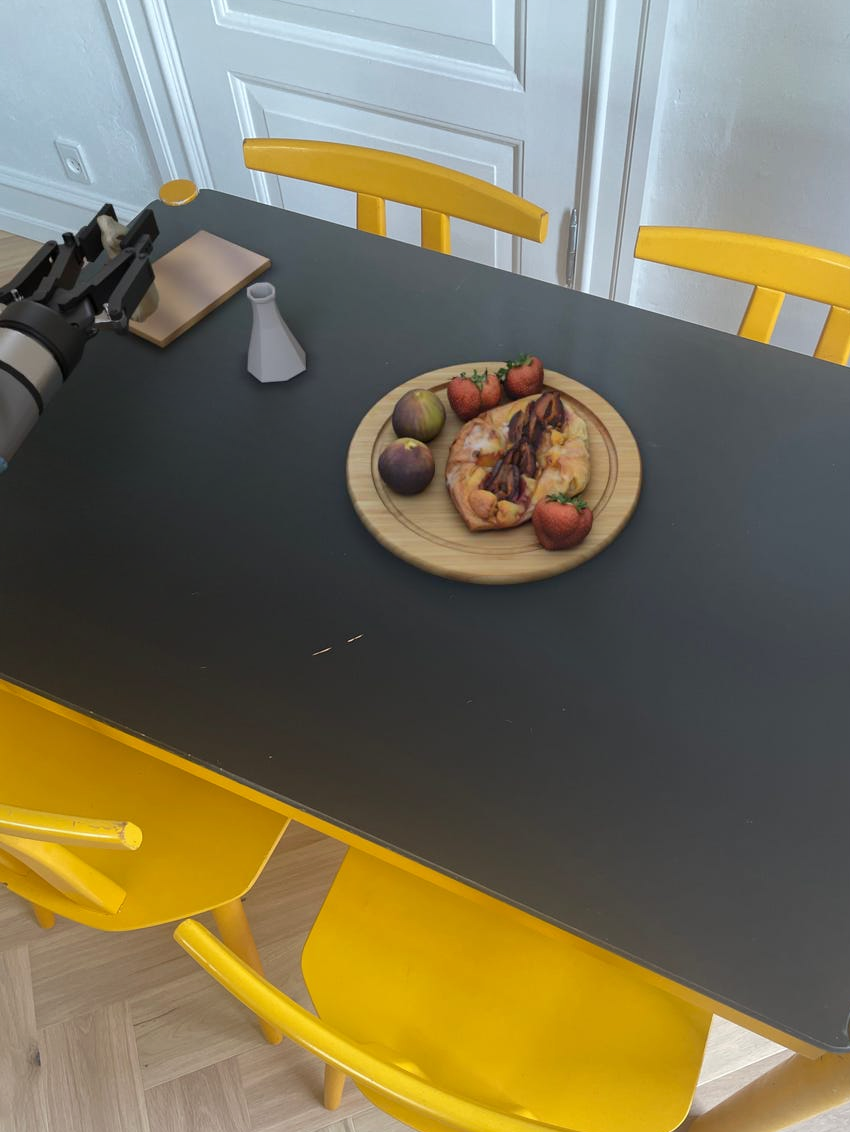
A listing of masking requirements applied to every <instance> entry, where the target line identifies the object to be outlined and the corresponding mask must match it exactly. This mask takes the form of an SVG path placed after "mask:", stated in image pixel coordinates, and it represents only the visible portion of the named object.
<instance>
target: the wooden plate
mask: <svg viewBox="0 0 850 1132" xmlns="http://www.w3.org/2000/svg"><path fill="white" fill-rule="evenodd" d="M518 357H520V358H519V359H515V360H513V361H512V360H511V359H510V360H503V361H482V362H471V363H470V362H469V363H462V364H457V365H451V366H448V367H447V366H445V367H442V368H438V369H435V370H432V371H429V372H426V373H424V374H421V375H418V376H416V377H414V378H411V379H410V380H407V381H406V382H404V383H402V384H400V385H399V386H397V387H395V388H393V389H392V390H391V391H389V392H388V393H387V394H386V395H383V397H382V398H380V400H378V401H377V402H376V403H375V404H374V405H373V406H372V407H371V408H370V409H369V411H367V413H365V415H364V416H363V417H362V419H361V420H360V422H359V424H358V425H357V428H356V429H355V431H354V433H353V435H352V438H351V441H350V443H349V447H348V451H347V455H346V459H345V460H346V461H345V479H346V480H345V482H346V489H347V492H348V496H349V499H350V502H351V504H352V506H353V509H354V511H355V513H356V515H357V517H358V518H359V520H360V522H361V523H362V525H363V526H364V528H365V529H366V530H367V531H368V533H369V534H370V535H371V537H373V538H374V540H375V541H376V542H377V543H378V544H380V546H381V547H383V548H384V549H386V551H388V552H390V553H391V554H393V555H394V556H395V557H397V558H399V559H401V560H402V561H404V562H405V563H407V564H409V565H411V566H413V567H415V568H416V569H419V570H421V571H423V572H425V573H428V574H431V575H434V576H436V577H440V578H443V579H448V580H450V581H456V582H460V583H466V584H467V583H468V584H475V585H487V586H499V585H501V586H504V585H518V584H525V583H532V582H536V581H541V580H544V579H550V578H553V577H555V576H557V575H561V574H564V573H567V572H568V571H571V570H573V569H575V568H578V567H579V566H581V565H583V564H585V563H586V562H588V561H590V560H592V559H593V558H594V557H596V556H597V555H599V554H600V553H602V551H605V550H606V549H607V548H608V547H609V546H610V545H611V544H612V543H613V542H614V541H615V540H616V539H617V538H618V537H619V536H620V535H621V533H622V532H623V531H624V529H625V528H626V526H627V525H628V523H629V522H630V521H631V519H632V517H633V515H634V513H635V511H636V508H637V507H638V503H639V501H640V496H641V491H642V486H643V473H644V472H643V471H644V470H643V461H642V456H641V452H640V449H639V446H638V443H637V440H636V438H635V436H634V434H633V432H632V430H631V428H630V427H629V425H628V424H627V423H626V421H625V420H624V419H623V417H622V416H621V415H620V413H619V412H618V411H617V410H616V409H615V408H614V406H613V405H611V404H610V403H609V402H608V401H607V400H606V399H605V398H603V397H602V396H601V395H599V394H598V393H597V392H595V391H594V390H592V389H591V388H589V387H588V386H586V385H584V384H582V383H581V382H578V381H577V380H574V379H572V378H570V377H568V376H566V375H563V374H561V373H559V372H557V371H553V370H550V369H546V368H544V366H543V363H542V361H541V360H540V359H538V358H537V357H535V356H531V353H529V354H527V353H526V354H524V351H520V353H519V355H518Z"/></svg>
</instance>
